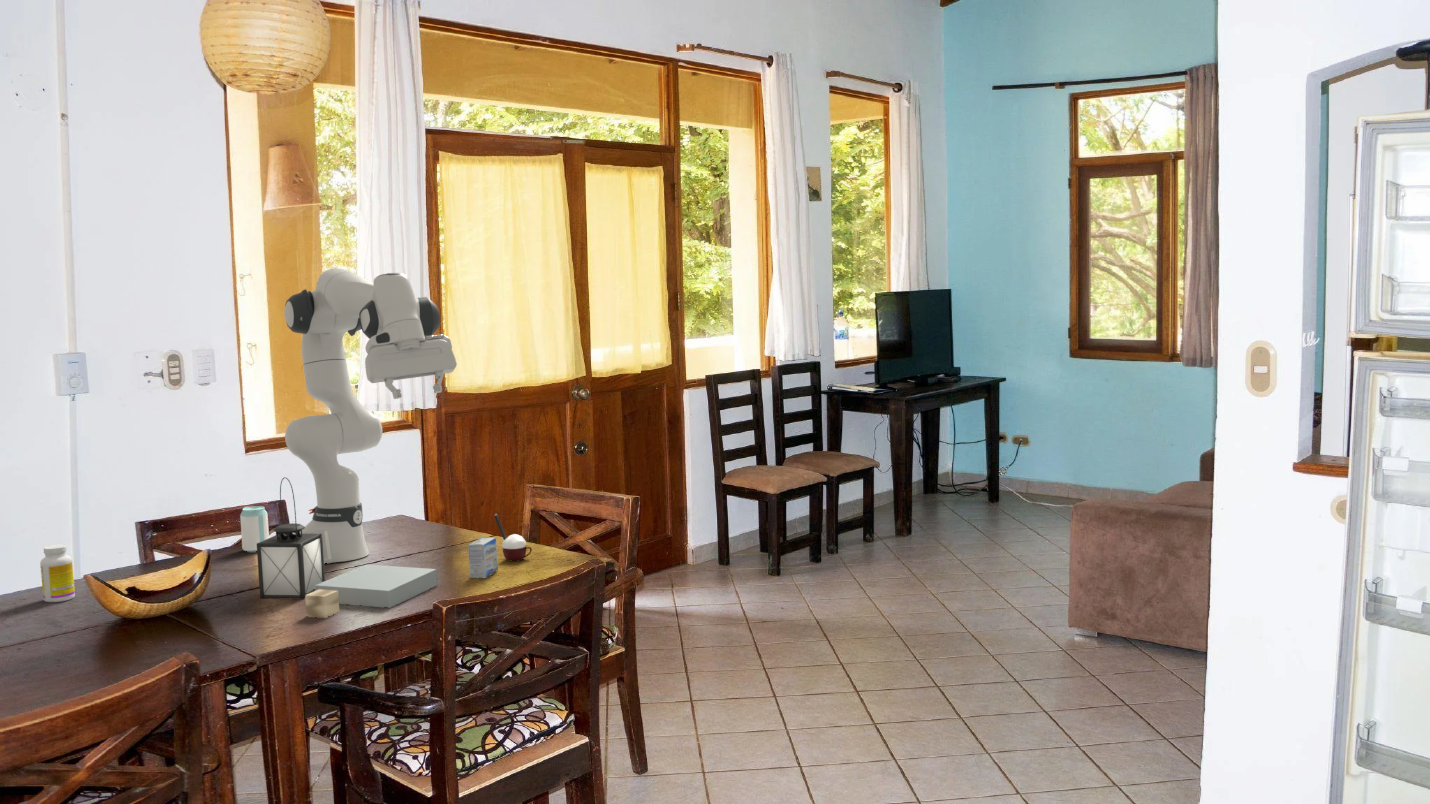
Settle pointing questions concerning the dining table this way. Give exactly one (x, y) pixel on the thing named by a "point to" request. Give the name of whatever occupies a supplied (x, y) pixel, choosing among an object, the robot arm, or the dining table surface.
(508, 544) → the cocoa
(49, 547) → the supplement bottle
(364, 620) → the dining table surface
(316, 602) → the maple cube
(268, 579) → the lantern
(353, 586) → the stand
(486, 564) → the medicine box
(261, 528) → the can
